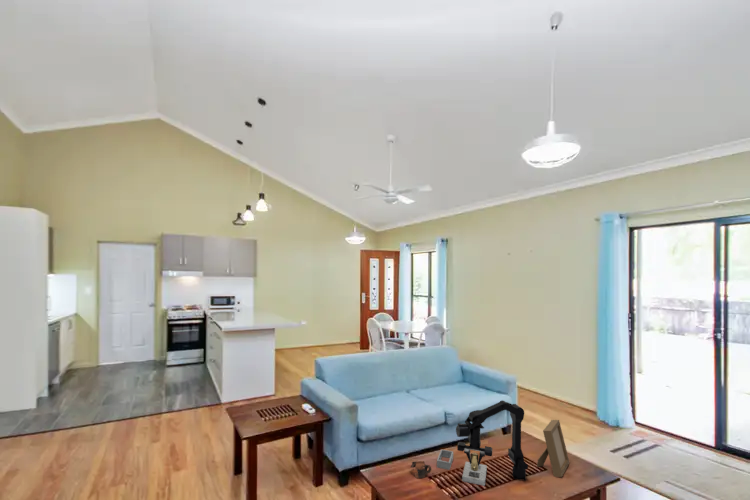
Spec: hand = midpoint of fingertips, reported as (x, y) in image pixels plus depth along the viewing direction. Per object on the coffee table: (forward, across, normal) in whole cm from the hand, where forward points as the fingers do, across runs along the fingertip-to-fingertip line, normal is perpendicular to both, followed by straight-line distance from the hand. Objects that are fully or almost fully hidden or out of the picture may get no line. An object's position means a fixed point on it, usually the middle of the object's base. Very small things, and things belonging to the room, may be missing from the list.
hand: (474, 464), depth 213 cm
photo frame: (+8, -43, -32) cm, 54 cm away
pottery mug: (+8, +29, +6) cm, 31 cm away
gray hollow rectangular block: (+8, +18, -12) cm, 23 cm away
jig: (+8, 0, -4) cm, 9 cm away
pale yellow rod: (+2, 0, 0) cm, 3 cm away
